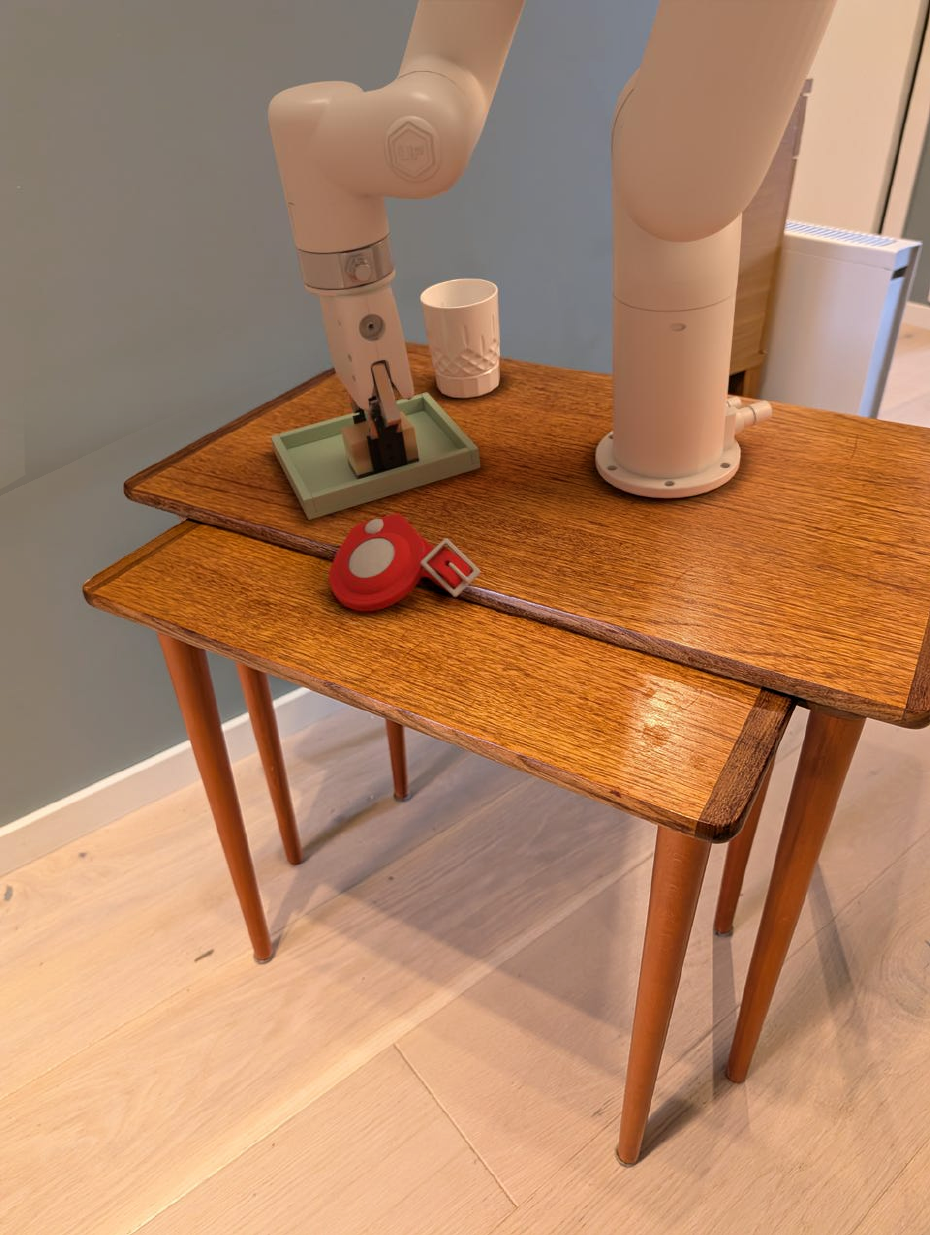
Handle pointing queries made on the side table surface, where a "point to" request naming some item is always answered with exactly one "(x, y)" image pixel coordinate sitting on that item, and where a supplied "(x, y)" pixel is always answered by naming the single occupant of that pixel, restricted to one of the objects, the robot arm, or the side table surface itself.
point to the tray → (332, 485)
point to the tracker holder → (393, 564)
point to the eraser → (360, 451)
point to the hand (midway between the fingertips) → (383, 459)
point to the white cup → (463, 336)
